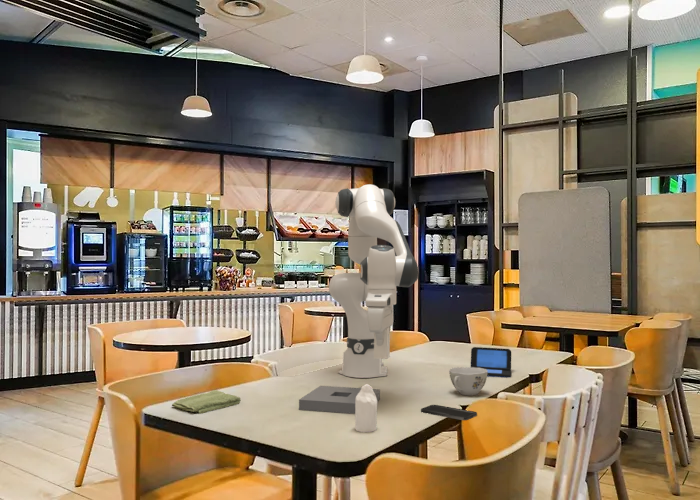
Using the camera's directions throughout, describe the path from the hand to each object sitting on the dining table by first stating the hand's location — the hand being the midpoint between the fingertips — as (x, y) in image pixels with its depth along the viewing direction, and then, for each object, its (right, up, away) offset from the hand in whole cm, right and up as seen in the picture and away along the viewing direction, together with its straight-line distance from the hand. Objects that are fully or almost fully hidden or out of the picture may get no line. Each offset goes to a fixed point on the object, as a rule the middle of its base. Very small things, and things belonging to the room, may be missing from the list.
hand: (381, 343), depth 184 cm
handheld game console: (+45, -20, +51) cm, 70 cm away
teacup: (+29, -19, +15) cm, 38 cm away
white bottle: (-5, -19, -25) cm, 32 cm away
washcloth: (-53, -19, 0) cm, 56 cm away
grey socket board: (-12, -19, +2) cm, 23 cm away
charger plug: (0, -4, 0) cm, 4 cm away
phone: (+19, -19, -9) cm, 28 cm away
